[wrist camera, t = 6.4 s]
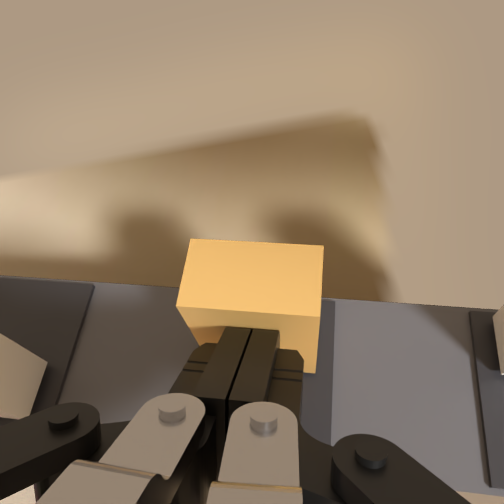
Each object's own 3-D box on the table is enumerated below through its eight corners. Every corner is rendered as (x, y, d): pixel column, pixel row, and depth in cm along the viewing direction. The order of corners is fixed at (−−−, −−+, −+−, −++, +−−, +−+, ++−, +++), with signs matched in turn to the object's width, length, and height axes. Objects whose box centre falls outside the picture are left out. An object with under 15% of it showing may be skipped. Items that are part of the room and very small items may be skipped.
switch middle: (318, 317, 16) (323, 245, 12) (315, 373, 15) (320, 316, 11) (219, 310, 17) (190, 238, 12) (210, 363, 16) (176, 306, 12)
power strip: (528, 362, 22) (617, 302, 16) (556, 518, 19) (681, 518, 13) (65, 324, 25) (-12, 261, 19) (22, 449, 22) (-86, 423, 16)
